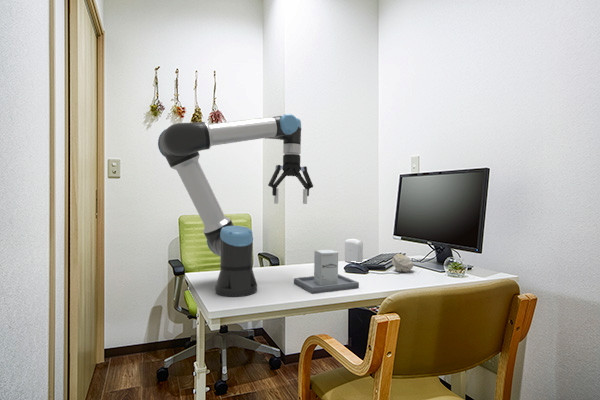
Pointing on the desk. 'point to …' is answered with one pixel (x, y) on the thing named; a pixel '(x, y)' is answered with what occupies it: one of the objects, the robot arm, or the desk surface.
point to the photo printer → (353, 250)
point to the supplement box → (326, 267)
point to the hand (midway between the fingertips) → (290, 203)
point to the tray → (313, 287)
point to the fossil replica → (402, 263)
